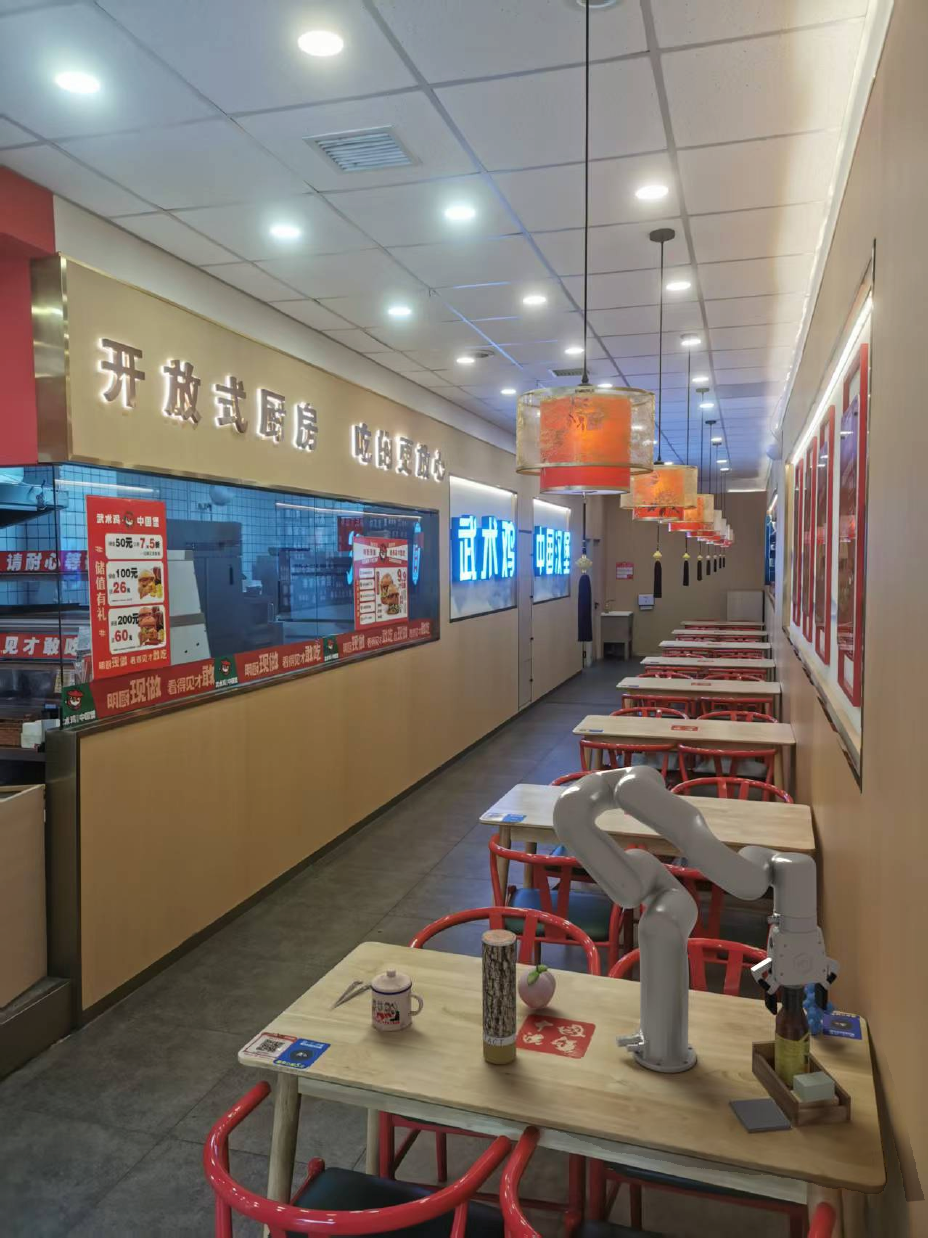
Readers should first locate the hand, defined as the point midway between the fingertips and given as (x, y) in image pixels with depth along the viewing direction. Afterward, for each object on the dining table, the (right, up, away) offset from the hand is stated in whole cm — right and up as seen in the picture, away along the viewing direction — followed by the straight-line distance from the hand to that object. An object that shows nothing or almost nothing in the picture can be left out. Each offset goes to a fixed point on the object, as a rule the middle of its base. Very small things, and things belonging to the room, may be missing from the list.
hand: (796, 1009), depth 167 cm
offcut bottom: (0, -16, -6) cm, 17 cm away
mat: (-9, -16, -8) cm, 20 cm away
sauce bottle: (0, -16, +1) cm, 16 cm away
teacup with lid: (-77, -15, +26) cm, 83 cm away
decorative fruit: (-47, -14, +31) cm, 58 cm away
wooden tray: (0, -15, -2) cm, 15 cm away
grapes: (+12, -14, +20) cm, 27 cm away
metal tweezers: (-90, -15, +37) cm, 99 cm away
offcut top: (+1, -13, -7) cm, 14 cm away
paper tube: (-56, -15, +12) cm, 59 cm away
